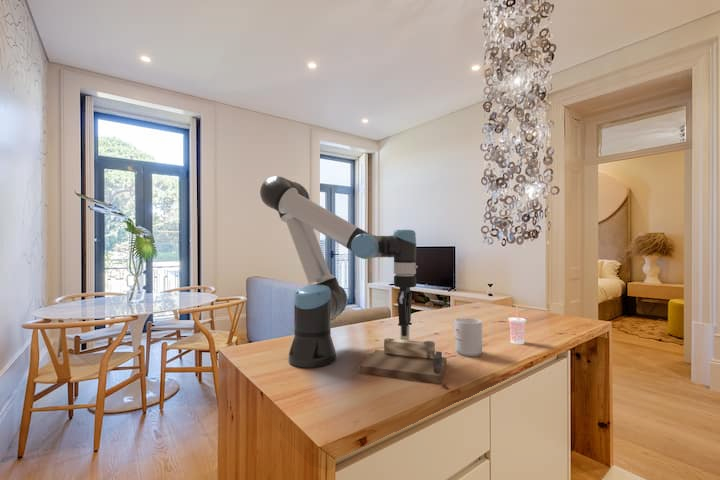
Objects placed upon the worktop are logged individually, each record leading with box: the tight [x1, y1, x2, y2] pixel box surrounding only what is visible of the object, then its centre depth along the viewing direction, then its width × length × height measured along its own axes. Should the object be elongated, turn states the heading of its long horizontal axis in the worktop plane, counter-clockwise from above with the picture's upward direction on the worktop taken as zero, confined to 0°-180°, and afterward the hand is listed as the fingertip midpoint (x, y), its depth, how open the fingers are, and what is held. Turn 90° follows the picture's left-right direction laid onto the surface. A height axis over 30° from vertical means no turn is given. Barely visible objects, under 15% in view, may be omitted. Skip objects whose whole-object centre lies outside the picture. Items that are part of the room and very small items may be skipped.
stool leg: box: [383, 337, 436, 359], centre depth 105 cm, size 16×3×4 cm, turn 70°
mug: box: [453, 317, 483, 358], centre depth 115 cm, size 12×9×11 cm
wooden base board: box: [358, 349, 448, 384], centre depth 99 cm, size 23×16×6 cm
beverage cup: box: [507, 305, 527, 345], centre depth 127 cm, size 6×6×14 cm
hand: (405, 344), depth 112 cm, fingers closed
